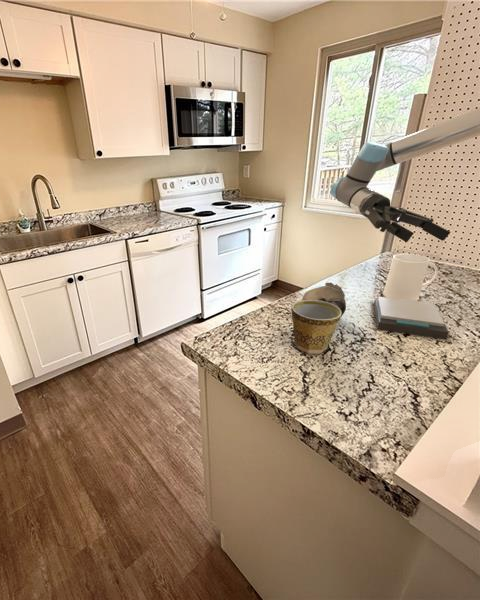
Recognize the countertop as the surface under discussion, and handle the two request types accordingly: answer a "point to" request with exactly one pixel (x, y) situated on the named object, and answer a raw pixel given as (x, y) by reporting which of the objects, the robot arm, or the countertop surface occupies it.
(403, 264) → the mug
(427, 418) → the countertop surface
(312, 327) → the ceramic cup
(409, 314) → the scale
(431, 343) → the countertop surface
